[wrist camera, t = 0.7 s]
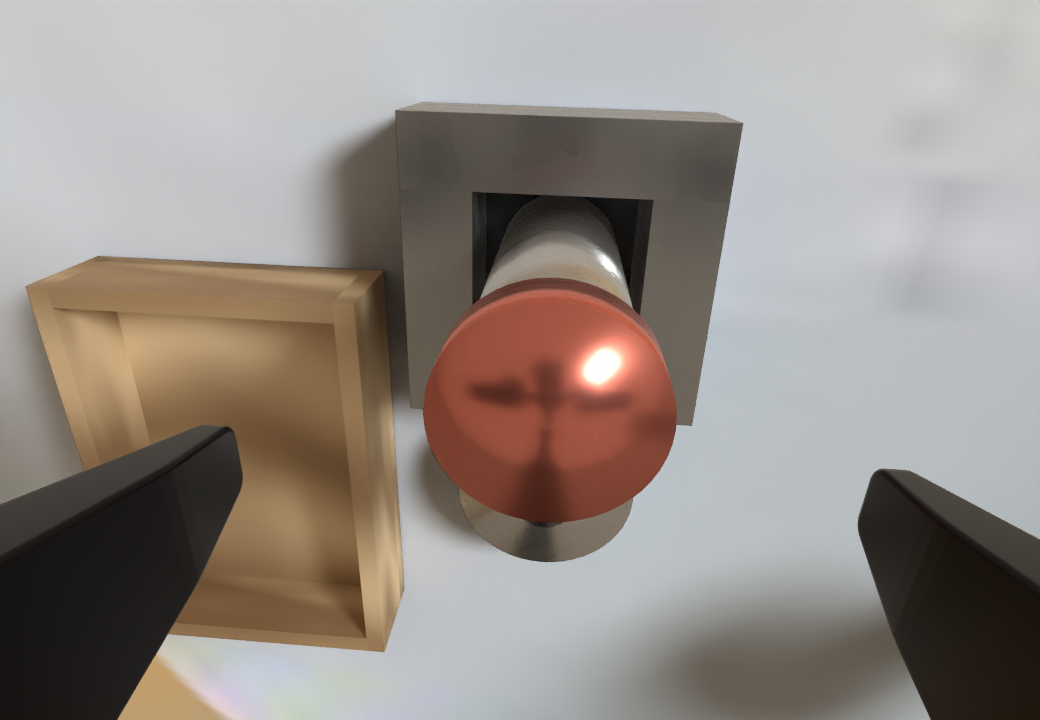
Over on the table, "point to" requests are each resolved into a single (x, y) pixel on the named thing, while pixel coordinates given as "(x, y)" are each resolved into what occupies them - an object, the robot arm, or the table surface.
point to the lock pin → (552, 376)
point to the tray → (249, 427)
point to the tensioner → (563, 172)
